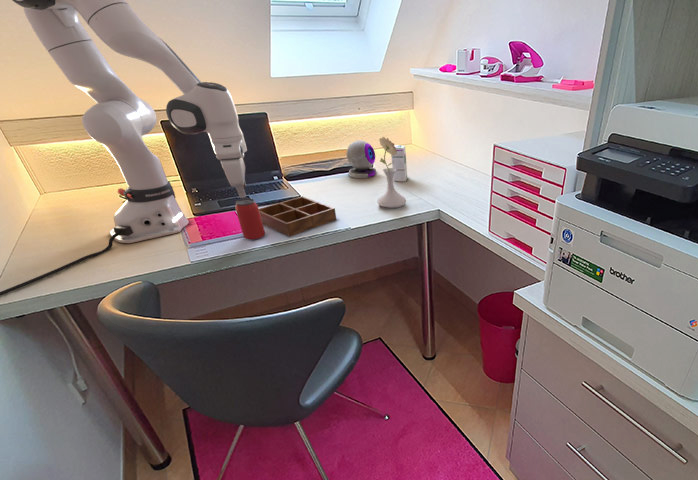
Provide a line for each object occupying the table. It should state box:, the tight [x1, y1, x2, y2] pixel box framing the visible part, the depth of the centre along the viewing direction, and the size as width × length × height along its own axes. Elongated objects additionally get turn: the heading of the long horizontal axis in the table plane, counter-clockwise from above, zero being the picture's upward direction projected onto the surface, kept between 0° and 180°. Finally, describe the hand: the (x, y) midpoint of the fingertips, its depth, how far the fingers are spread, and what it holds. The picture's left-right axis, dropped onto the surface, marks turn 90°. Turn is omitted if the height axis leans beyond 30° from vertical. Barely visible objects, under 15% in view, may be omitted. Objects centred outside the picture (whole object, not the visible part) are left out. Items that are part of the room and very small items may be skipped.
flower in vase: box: [377, 136, 407, 209], centre depth 161 cm, size 13×11×25 cm
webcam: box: [346, 139, 377, 179], centre depth 196 cm, size 13×13×15 cm
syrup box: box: [390, 144, 408, 182], centre depth 191 cm, size 6×6×14 cm
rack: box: [259, 195, 337, 238], centre depth 151 cm, size 19×19×4 cm
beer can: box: [235, 197, 266, 241], centre depth 137 cm, size 7×7×12 cm
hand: (243, 192), depth 132 cm, fingers open, 8 cm apart
